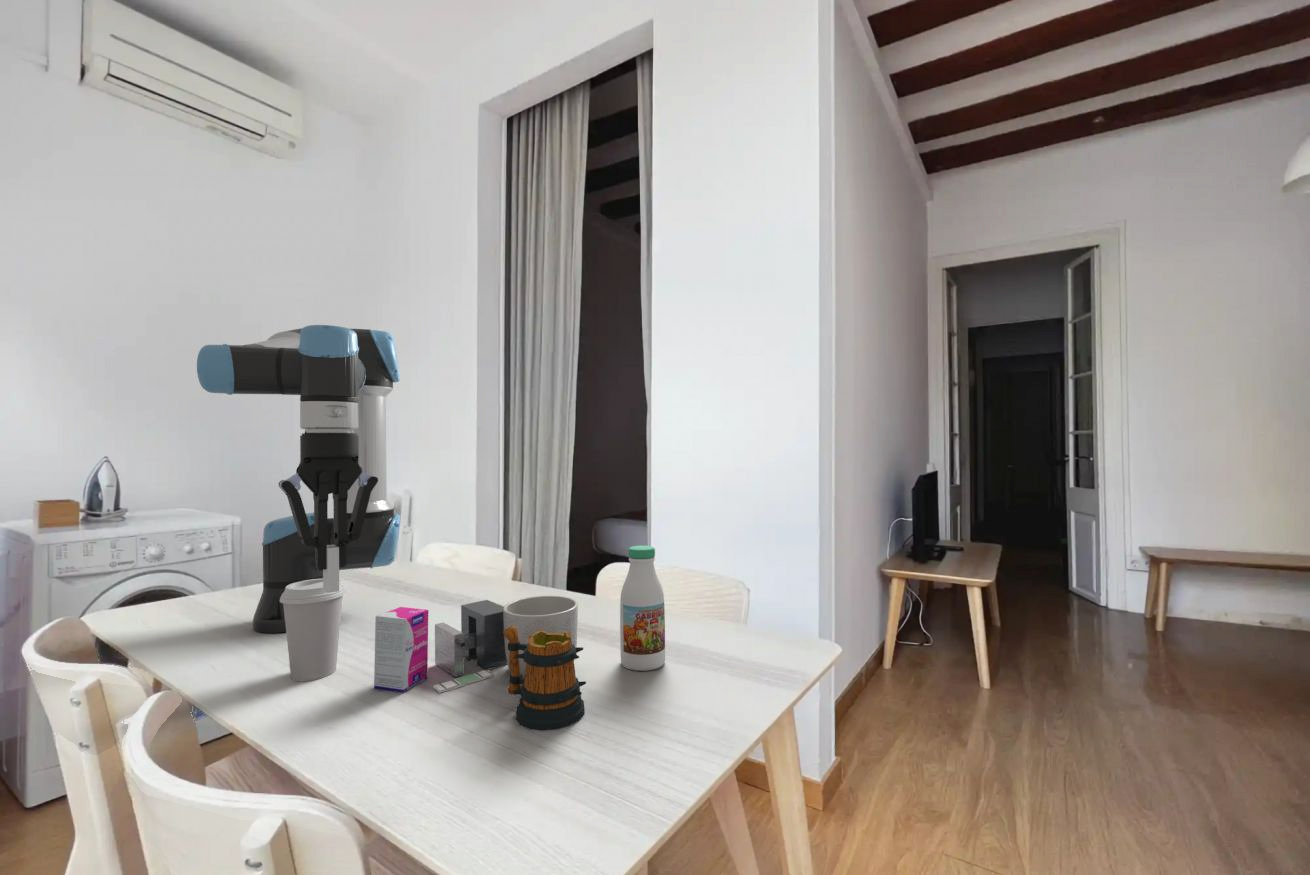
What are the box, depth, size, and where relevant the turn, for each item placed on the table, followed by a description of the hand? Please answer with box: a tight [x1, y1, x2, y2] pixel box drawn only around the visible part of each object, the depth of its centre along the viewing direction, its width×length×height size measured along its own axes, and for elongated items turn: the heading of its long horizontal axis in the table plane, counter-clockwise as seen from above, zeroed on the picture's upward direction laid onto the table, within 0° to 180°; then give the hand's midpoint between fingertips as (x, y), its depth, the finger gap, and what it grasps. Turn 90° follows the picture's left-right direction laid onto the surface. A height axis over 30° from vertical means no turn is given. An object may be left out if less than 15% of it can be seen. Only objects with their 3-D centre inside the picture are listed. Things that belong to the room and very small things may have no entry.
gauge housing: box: [460, 599, 508, 671], centre depth 100 cm, size 9×5×9 cm, turn 43°
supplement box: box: [373, 606, 429, 694], centre depth 90 cm, size 6×6×12 cm
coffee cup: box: [280, 578, 347, 682], centre depth 95 cm, size 10×10×15 cm
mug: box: [503, 625, 587, 732], centre depth 80 cm, size 13×10×12 cm
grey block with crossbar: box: [434, 622, 477, 677], centre depth 98 cm, size 10×12×7 cm
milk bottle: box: [619, 545, 666, 672], centre depth 97 cm, size 8×8×20 cm
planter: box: [503, 595, 579, 678], centre depth 95 cm, size 12×12×11 cm
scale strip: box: [432, 669, 495, 694], centre depth 90 cm, size 2×9×1 cm, turn 133°
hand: (331, 590), depth 84 cm, fingers closed
